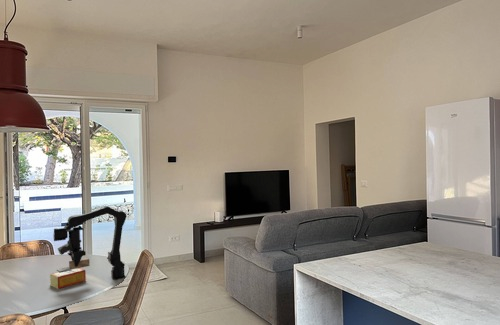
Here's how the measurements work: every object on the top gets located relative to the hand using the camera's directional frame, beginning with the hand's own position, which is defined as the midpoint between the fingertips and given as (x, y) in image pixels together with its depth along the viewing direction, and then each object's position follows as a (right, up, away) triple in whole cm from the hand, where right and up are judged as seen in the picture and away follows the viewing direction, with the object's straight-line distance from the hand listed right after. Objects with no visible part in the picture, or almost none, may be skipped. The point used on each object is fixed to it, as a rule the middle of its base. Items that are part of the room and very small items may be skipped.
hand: (75, 266), depth 208 cm
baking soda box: (-12, -8, -1) cm, 14 cm away
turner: (-1, -1, -1) cm, 1 cm away
